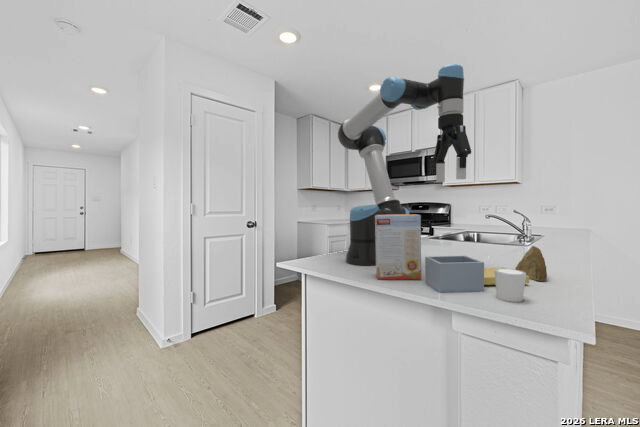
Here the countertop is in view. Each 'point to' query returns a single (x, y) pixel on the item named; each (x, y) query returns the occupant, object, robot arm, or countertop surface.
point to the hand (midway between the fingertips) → (450, 180)
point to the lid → (490, 276)
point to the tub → (454, 273)
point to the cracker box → (398, 246)
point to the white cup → (510, 284)
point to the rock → (533, 264)
